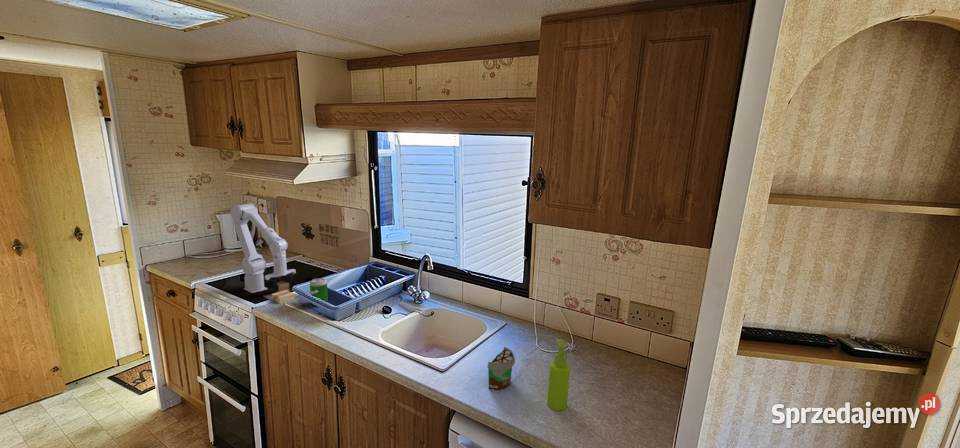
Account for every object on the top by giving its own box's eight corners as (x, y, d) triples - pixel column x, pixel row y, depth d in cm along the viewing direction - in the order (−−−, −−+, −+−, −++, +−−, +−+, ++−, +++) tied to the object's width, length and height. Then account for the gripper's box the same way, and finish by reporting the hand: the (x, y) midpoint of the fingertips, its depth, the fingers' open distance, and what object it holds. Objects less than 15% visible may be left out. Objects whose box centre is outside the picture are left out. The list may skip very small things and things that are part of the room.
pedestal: (272, 299, 192) (272, 293, 191) (286, 295, 197) (286, 290, 197) (280, 303, 188) (279, 297, 187) (294, 299, 193) (294, 293, 193)
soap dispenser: (563, 396, 126) (568, 337, 122) (569, 410, 119) (574, 349, 116) (544, 396, 126) (549, 337, 122) (549, 410, 119) (554, 348, 115)
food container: (503, 397, 125) (505, 368, 123) (486, 391, 128) (487, 362, 126) (519, 378, 135) (521, 351, 133) (503, 372, 138) (504, 346, 136)
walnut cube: (274, 292, 200) (273, 283, 199) (284, 290, 204) (283, 280, 203) (279, 295, 197) (278, 285, 196) (289, 292, 201) (288, 283, 200)
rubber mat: (263, 297, 196) (263, 296, 196) (285, 291, 205) (285, 290, 205) (279, 305, 187) (278, 303, 187) (301, 298, 196) (301, 297, 196)
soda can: (324, 300, 195) (323, 276, 193) (330, 305, 189) (329, 281, 187) (308, 303, 190) (307, 279, 188) (313, 308, 185) (312, 284, 182)
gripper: (269, 268, 190) (271, 296, 192) (298, 262, 201) (299, 288, 204) (261, 265, 194) (263, 292, 196) (290, 259, 205) (292, 284, 208)
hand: (281, 290), depth 200 cm, fingers open, 6 cm apart
